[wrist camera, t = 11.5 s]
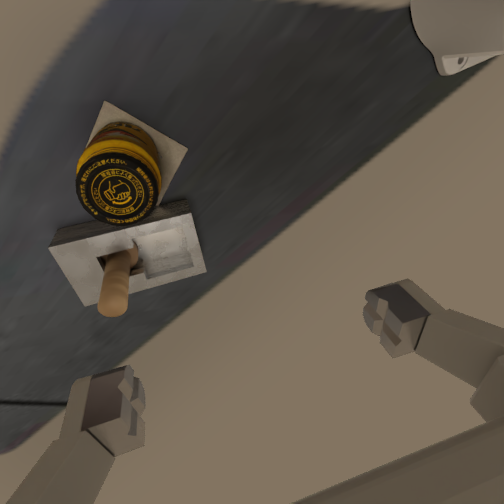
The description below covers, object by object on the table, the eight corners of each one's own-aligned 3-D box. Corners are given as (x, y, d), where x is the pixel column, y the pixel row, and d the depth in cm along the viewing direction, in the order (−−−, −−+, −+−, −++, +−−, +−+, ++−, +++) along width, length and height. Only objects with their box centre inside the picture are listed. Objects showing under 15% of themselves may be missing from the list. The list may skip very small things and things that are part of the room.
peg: (131, 231, 33) (127, 283, 25) (143, 259, 35) (142, 315, 27) (95, 240, 32) (78, 297, 24) (109, 268, 35) (98, 328, 26)
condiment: (104, 100, 26) (83, 119, 17) (187, 148, 31) (208, 185, 21) (77, 169, 29) (43, 221, 19) (158, 205, 33) (164, 262, 23)
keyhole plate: (186, 199, 34) (191, 213, 30) (201, 254, 38) (206, 271, 35) (57, 229, 31) (48, 247, 28) (90, 284, 35) (84, 306, 32)
